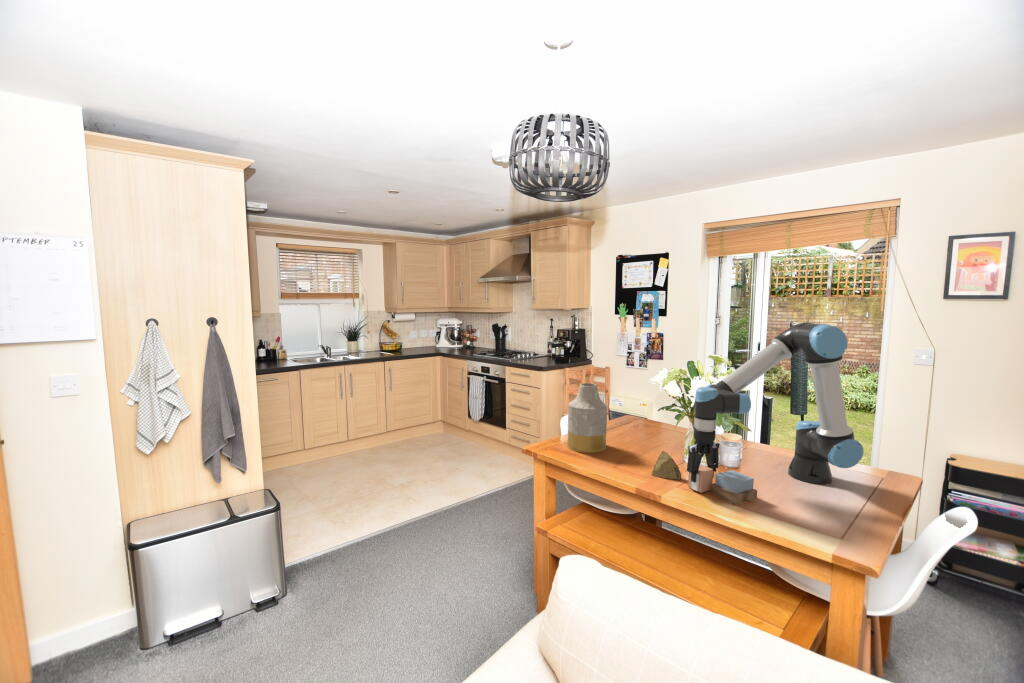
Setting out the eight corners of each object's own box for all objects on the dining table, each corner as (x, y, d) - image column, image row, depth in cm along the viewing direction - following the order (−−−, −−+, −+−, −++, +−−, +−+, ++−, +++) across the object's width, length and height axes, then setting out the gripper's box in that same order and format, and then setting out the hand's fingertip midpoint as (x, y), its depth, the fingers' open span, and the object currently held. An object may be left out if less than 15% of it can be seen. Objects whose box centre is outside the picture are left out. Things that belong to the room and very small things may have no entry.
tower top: (732, 480, 177) (732, 469, 177) (753, 489, 169) (753, 478, 169) (715, 484, 173) (715, 473, 173) (735, 493, 165) (736, 482, 165)
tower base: (730, 489, 179) (731, 479, 178) (756, 500, 169) (757, 490, 168) (710, 494, 174) (710, 484, 173) (735, 506, 164) (736, 495, 164)
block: (699, 483, 181) (700, 463, 180) (712, 489, 176) (713, 469, 175) (688, 486, 178) (689, 466, 177) (701, 492, 173) (702, 472, 172)
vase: (566, 440, 234) (567, 380, 231) (602, 441, 233) (604, 381, 230) (569, 452, 216) (570, 388, 213) (608, 453, 215) (611, 389, 212)
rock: (689, 473, 187) (670, 461, 195) (682, 459, 183) (663, 448, 191) (671, 491, 184) (652, 479, 193) (664, 478, 180) (646, 466, 189)
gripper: (715, 423, 181) (712, 480, 183) (677, 429, 173) (675, 488, 176) (731, 428, 174) (728, 487, 176) (692, 434, 166) (690, 496, 169)
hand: (701, 488), depth 176 cm, fingers closed on block, 6 cm apart
